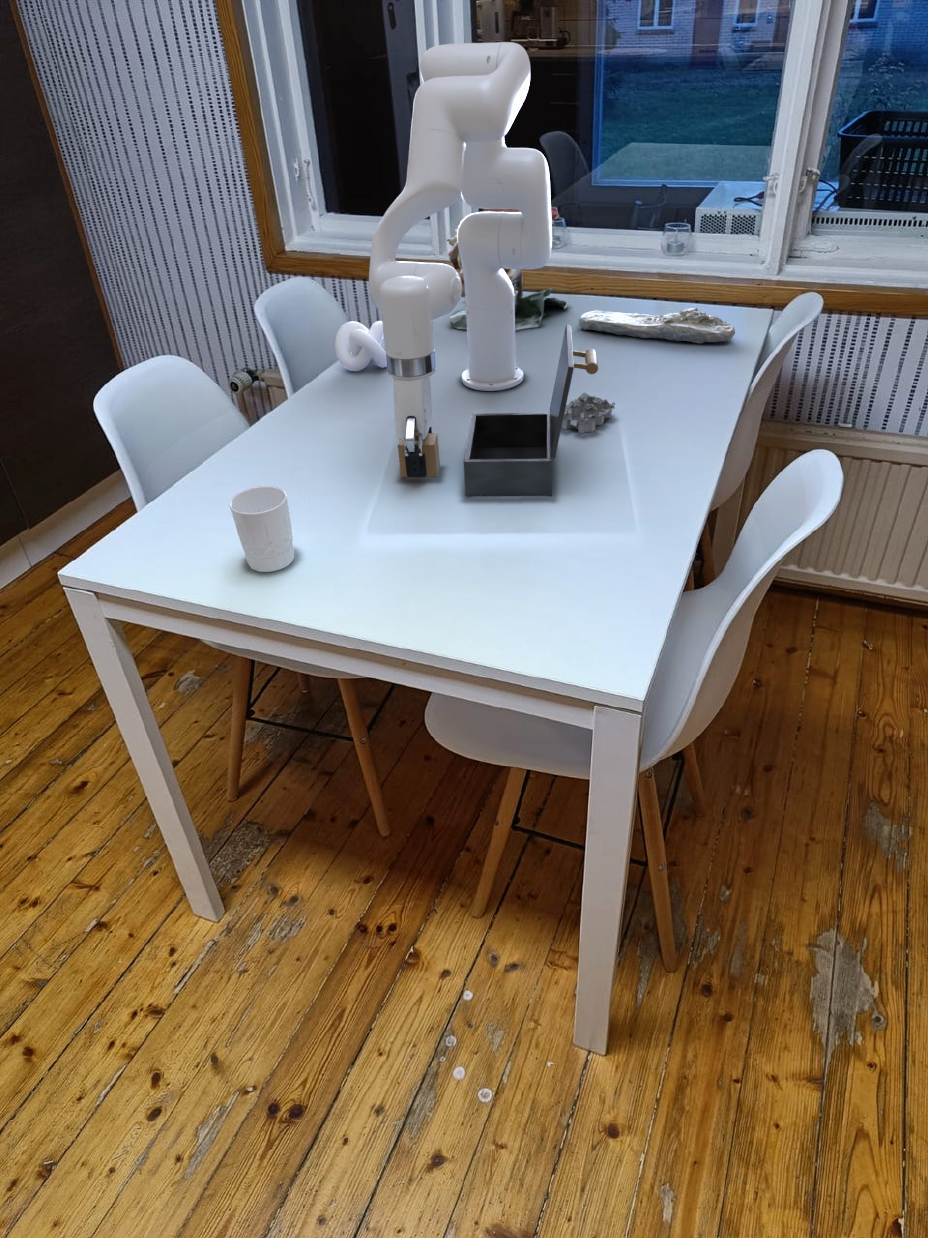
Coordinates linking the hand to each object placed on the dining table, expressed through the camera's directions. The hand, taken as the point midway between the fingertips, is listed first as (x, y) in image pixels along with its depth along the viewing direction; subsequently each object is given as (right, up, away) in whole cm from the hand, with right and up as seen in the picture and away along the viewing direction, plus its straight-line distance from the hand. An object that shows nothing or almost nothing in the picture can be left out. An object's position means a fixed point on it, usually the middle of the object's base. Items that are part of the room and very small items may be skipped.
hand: (420, 462), depth 143 cm
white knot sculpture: (-13, +29, +43) cm, 54 cm away
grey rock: (+29, +9, +14) cm, 34 cm away
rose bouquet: (+16, +47, +65) cm, 81 cm away
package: (0, -2, +1) cm, 2 cm away
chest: (+15, -2, 0) cm, 15 cm away
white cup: (-21, -18, -18) cm, 32 cm away
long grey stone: (+50, +38, +50) cm, 80 cm away
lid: (+22, +10, -10) cm, 26 cm away
